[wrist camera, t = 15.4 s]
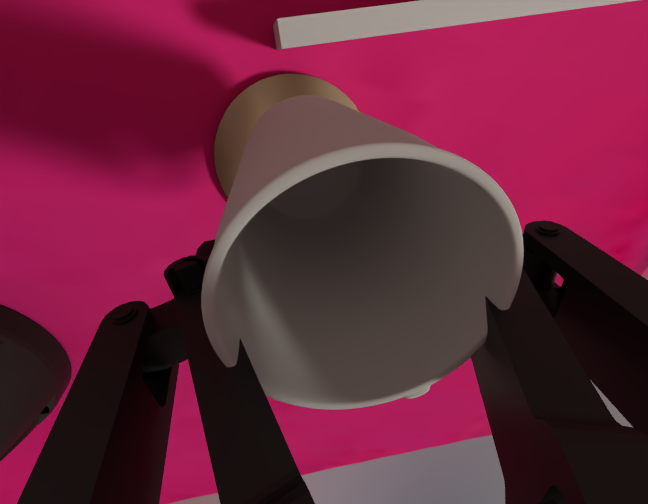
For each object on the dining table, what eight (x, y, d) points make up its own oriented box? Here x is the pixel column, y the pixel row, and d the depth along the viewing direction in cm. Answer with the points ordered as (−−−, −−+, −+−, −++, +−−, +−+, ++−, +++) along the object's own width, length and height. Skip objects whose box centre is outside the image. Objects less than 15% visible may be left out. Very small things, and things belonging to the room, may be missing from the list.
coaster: (238, 240, 25) (238, 243, 25) (191, 86, 20) (190, 87, 19) (371, 214, 26) (373, 218, 26) (365, 62, 21) (367, 62, 20)
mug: (214, 129, 15) (113, 260, 5) (339, 60, 15) (503, 58, 5) (306, 276, 21) (346, 484, 10) (402, 230, 20) (543, 405, 10)
